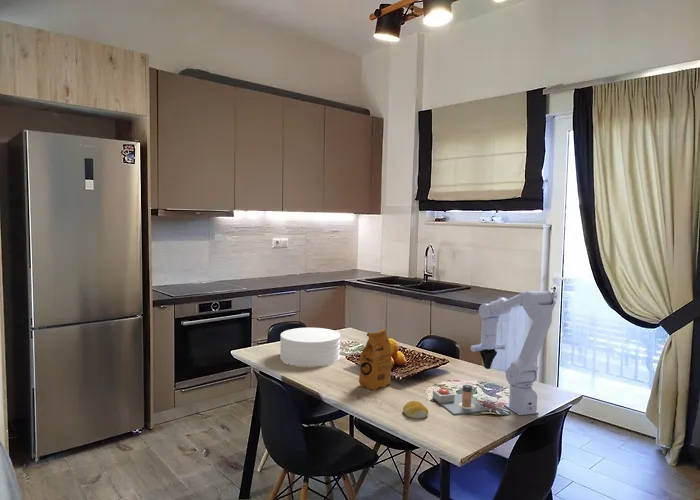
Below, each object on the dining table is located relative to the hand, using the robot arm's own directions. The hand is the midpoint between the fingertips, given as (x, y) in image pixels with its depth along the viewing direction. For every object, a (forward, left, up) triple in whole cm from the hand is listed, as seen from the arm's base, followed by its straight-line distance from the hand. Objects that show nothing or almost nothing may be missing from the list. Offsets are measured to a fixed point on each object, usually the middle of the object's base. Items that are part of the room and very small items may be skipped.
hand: (487, 368), depth 192 cm
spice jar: (-12, +16, -9) cm, 22 cm away
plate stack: (+60, +57, -10) cm, 83 cm away
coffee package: (+18, +40, -10) cm, 45 cm away
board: (-9, +17, -9) cm, 21 cm away
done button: (-4, +21, -9) cm, 23 cm away
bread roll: (-12, +36, -10) cm, 40 cm away
